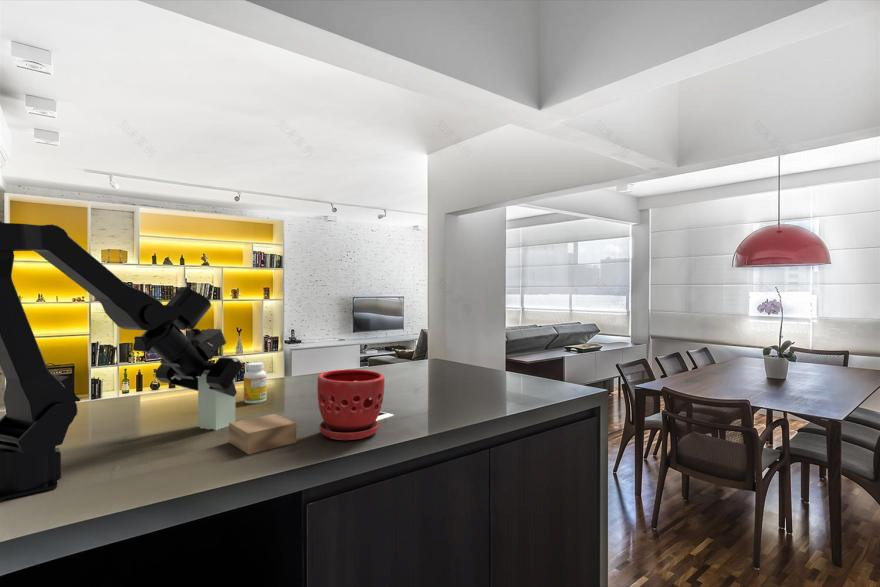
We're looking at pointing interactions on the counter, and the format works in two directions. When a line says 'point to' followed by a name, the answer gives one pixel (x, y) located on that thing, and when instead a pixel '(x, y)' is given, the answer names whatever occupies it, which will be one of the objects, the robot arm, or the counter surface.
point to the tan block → (262, 433)
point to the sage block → (214, 407)
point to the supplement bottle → (255, 383)
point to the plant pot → (350, 403)
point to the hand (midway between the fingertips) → (222, 393)
